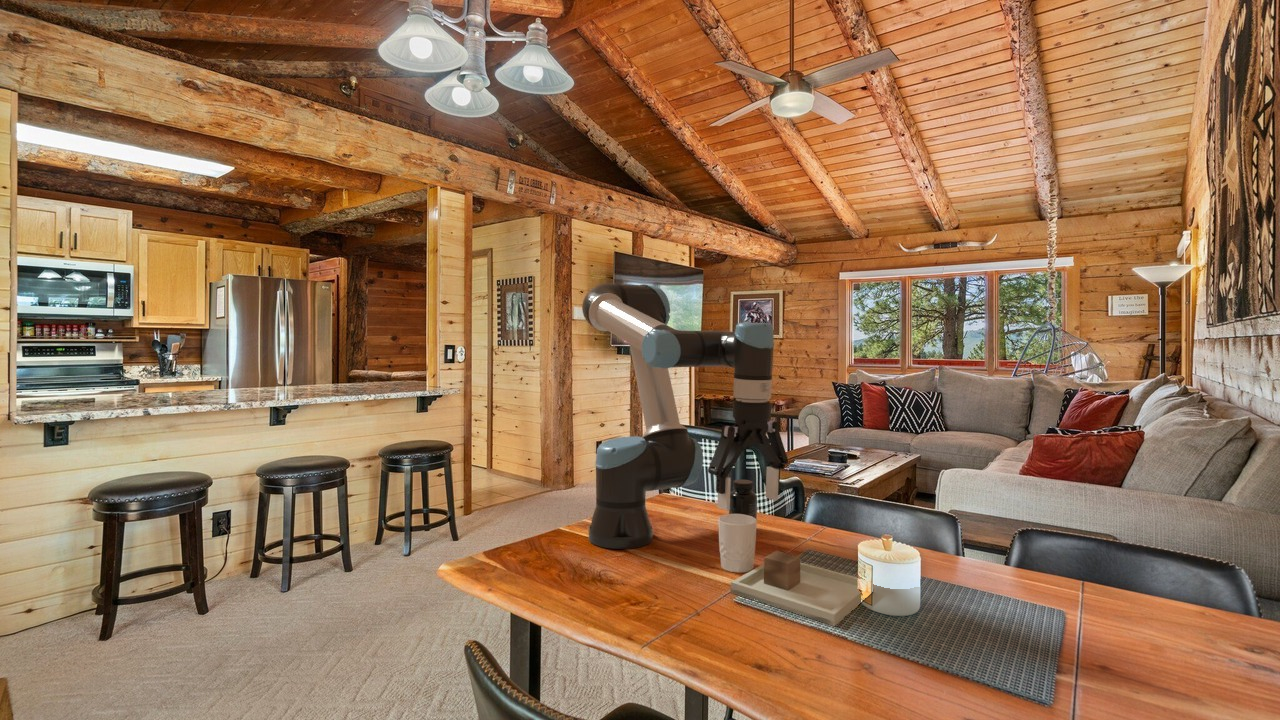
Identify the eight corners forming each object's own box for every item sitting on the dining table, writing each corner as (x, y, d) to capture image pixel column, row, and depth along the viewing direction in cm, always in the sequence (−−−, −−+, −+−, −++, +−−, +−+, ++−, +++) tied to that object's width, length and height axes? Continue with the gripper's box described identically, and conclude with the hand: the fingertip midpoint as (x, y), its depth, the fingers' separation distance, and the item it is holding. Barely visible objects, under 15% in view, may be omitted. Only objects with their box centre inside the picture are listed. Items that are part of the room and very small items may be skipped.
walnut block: (763, 583, 116) (764, 557, 116) (776, 575, 120) (776, 550, 120) (787, 590, 113) (788, 564, 112) (800, 582, 116) (800, 556, 116)
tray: (730, 592, 114) (730, 582, 113) (777, 565, 127) (777, 556, 127) (834, 626, 100) (834, 614, 100) (873, 592, 114) (874, 581, 114)
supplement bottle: (753, 525, 155) (753, 478, 154) (759, 534, 148) (760, 484, 147) (726, 525, 154) (726, 478, 154) (731, 534, 147) (732, 485, 147)
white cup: (759, 574, 122) (759, 525, 122) (719, 573, 123) (720, 524, 122) (753, 560, 130) (753, 513, 130) (716, 559, 131) (716, 513, 130)
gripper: (718, 406, 112) (714, 519, 114) (808, 398, 126) (803, 499, 128) (692, 401, 118) (688, 508, 120) (780, 394, 133) (776, 490, 134)
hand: (748, 503), depth 124 cm, fingers open, 13 cm apart
